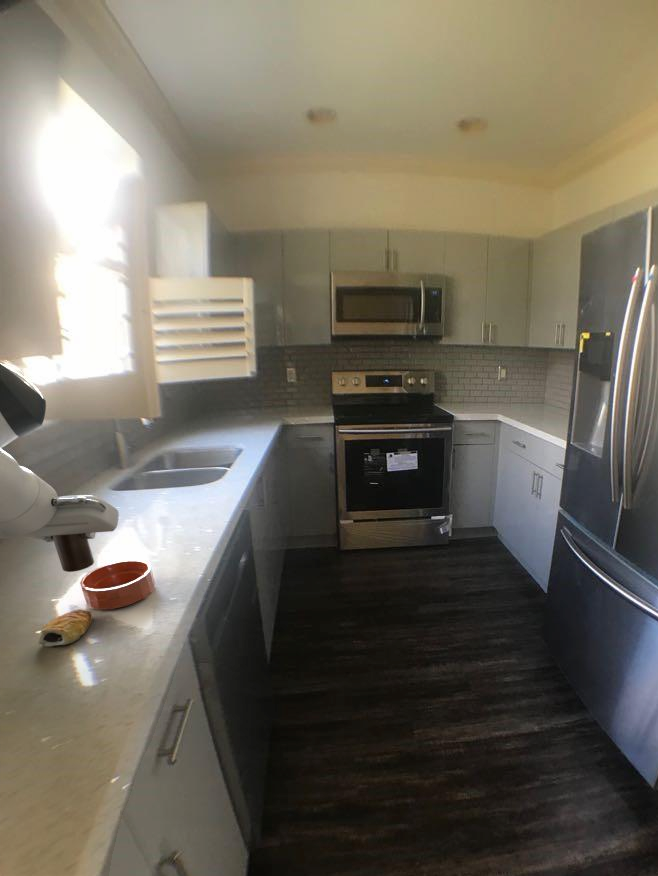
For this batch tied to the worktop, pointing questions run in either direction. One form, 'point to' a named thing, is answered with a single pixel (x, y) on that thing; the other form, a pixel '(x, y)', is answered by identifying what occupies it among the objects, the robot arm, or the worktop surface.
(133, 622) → the worktop surface
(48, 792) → the worktop surface
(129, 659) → the worktop surface
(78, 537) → the pepper mill
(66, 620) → the pastry
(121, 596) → the bowl
